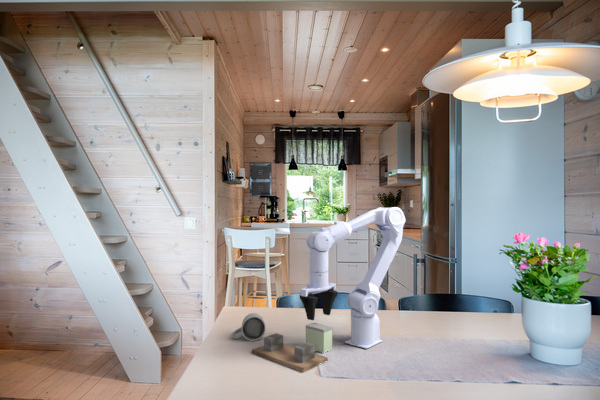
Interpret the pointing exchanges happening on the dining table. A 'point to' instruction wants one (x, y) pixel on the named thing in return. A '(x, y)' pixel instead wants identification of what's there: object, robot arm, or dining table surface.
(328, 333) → the bracket block
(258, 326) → the ceramic mug
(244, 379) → the dining table surface
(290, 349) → the post base
